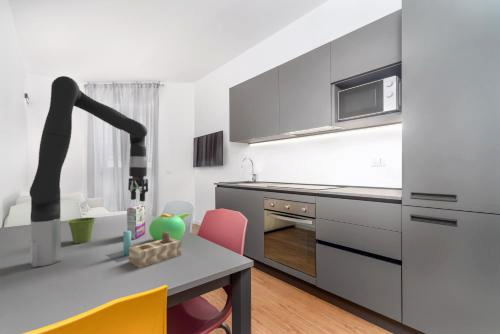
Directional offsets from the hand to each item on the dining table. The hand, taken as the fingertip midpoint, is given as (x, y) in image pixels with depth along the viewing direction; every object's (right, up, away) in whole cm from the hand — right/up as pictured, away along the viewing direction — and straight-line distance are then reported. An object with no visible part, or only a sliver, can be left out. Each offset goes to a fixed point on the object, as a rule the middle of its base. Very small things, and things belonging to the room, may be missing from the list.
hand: (137, 200), depth 117 cm
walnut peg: (+18, -22, -12) cm, 31 cm away
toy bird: (+12, -22, +8) cm, 26 cm away
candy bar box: (-9, -22, +17) cm, 30 cm away
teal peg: (+1, -22, -12) cm, 25 cm away
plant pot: (-33, -23, +9) cm, 41 cm away
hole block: (+15, -22, -15) cm, 31 cm away
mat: (0, -22, -11) cm, 25 cm away
